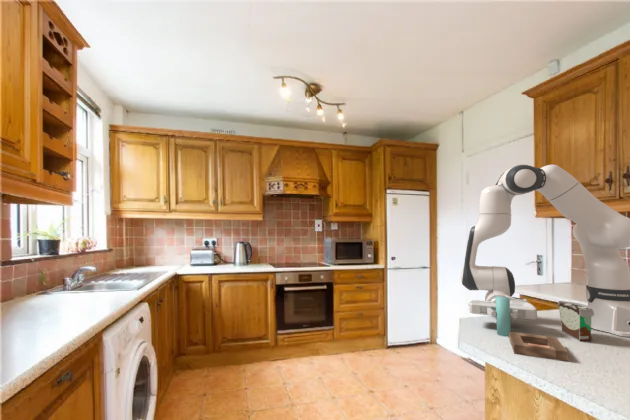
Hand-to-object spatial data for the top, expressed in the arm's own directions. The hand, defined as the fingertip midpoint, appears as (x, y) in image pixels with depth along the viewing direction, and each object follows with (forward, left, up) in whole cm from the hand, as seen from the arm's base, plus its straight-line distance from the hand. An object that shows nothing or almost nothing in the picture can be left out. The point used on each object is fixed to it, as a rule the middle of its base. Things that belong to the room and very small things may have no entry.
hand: (503, 315), depth 101 cm
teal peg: (0, -1, -7) cm, 7 cm away
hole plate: (-7, +10, -7) cm, 14 cm away
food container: (-22, -9, -7) cm, 25 cm away
